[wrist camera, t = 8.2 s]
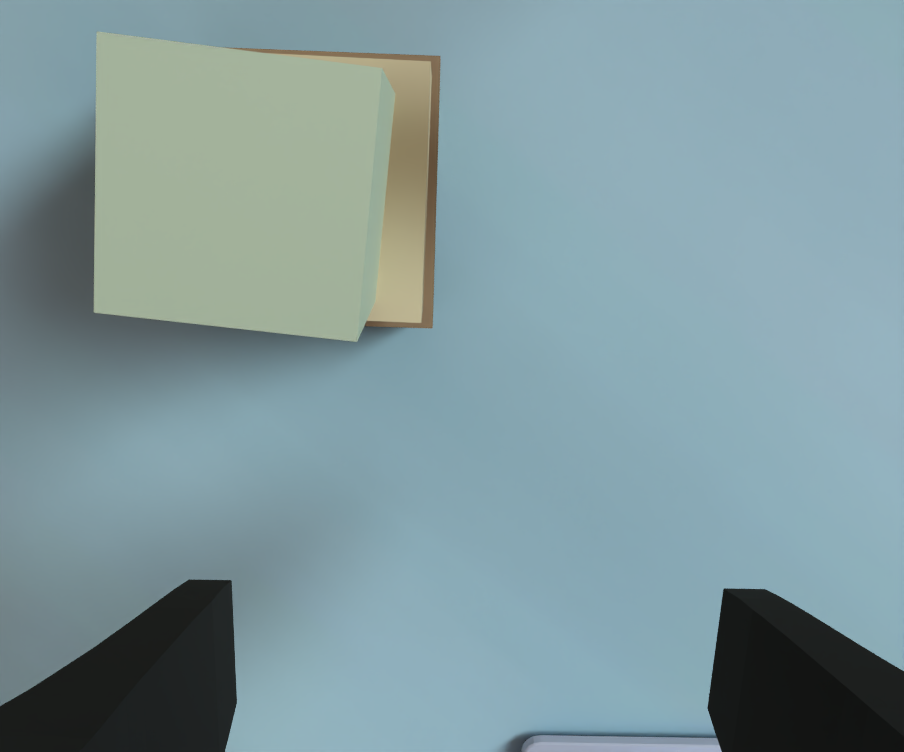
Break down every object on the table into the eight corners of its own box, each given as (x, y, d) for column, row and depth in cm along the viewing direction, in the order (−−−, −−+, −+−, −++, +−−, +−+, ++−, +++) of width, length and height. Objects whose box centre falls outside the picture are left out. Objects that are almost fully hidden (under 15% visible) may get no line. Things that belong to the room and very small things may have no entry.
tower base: (433, 310, 21) (432, 328, 19) (205, 303, 21) (175, 320, 19) (440, 69, 20) (440, 56, 18) (195, 60, 20) (161, 44, 17)
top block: (375, 301, 16) (357, 341, 12) (175, 278, 16) (93, 312, 12) (395, 93, 15) (381, 67, 12) (183, 66, 15) (97, 31, 11)
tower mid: (423, 303, 19) (421, 323, 16) (207, 294, 19) (173, 312, 16) (431, 76, 18) (430, 61, 15) (200, 64, 18) (162, 47, 15)
